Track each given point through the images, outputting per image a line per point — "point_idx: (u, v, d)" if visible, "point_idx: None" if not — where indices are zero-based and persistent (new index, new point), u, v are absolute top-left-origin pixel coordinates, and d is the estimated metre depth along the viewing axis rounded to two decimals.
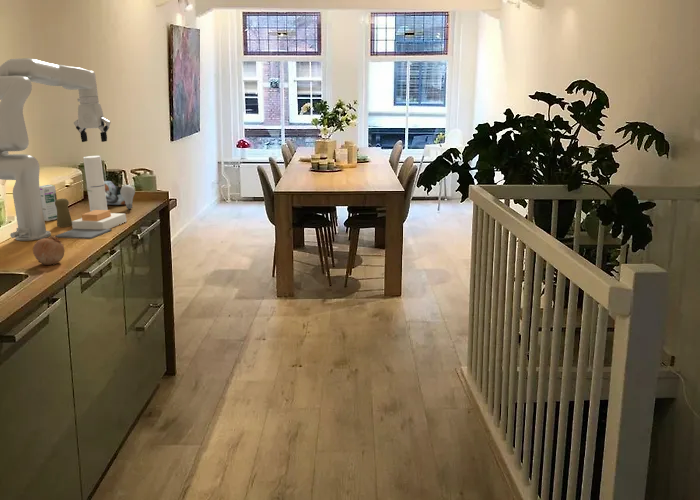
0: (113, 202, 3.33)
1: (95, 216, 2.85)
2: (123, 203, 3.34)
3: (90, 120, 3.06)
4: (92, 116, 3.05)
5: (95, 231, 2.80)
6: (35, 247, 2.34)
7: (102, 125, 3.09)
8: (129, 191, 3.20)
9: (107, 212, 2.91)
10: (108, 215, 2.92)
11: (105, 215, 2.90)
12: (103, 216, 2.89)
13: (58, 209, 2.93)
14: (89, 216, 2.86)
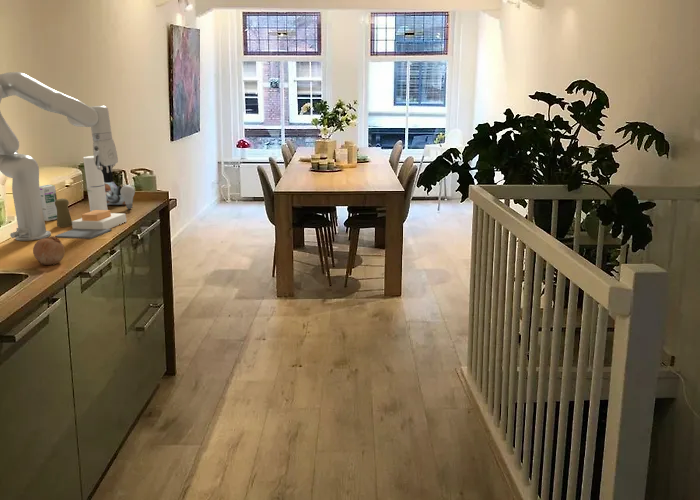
0: (115, 202, 3.33)
1: (95, 216, 2.85)
2: None
3: (112, 156, 2.94)
4: (114, 151, 2.95)
5: (95, 231, 2.80)
6: (35, 247, 2.34)
7: None
8: (129, 191, 3.20)
9: (107, 212, 2.91)
10: (108, 215, 2.92)
11: (105, 215, 2.90)
12: (103, 216, 2.89)
13: (58, 209, 2.93)
14: (89, 216, 2.86)
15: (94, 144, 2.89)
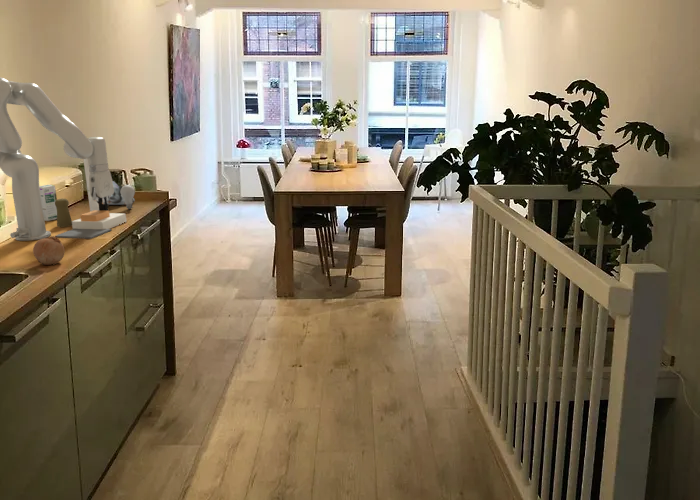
0: (117, 202, 3.32)
1: (94, 216, 2.84)
2: None
3: (109, 187, 2.93)
4: (110, 183, 2.94)
5: (95, 231, 2.80)
6: (35, 247, 2.34)
7: None
8: (129, 191, 3.20)
9: (106, 212, 2.90)
10: (107, 215, 2.91)
11: (104, 215, 2.89)
12: (102, 217, 2.88)
13: (58, 209, 2.93)
14: (88, 216, 2.85)
15: (90, 175, 2.87)
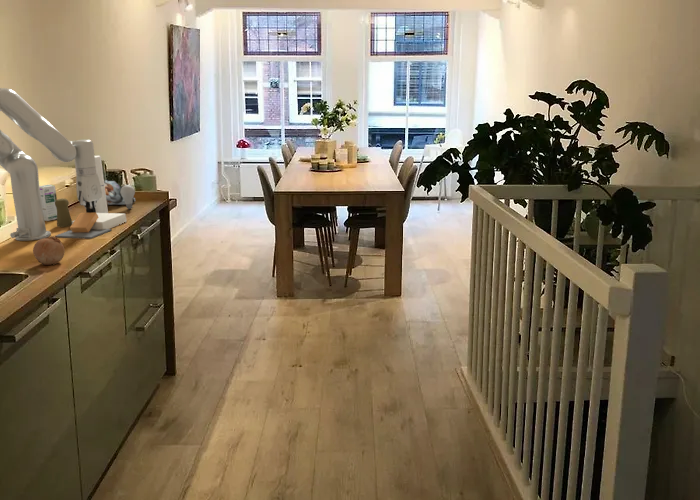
0: (117, 202, 3.32)
1: (84, 228, 2.78)
2: None
3: (96, 191, 2.86)
4: (98, 186, 2.86)
5: (95, 231, 2.80)
6: (35, 247, 2.34)
7: None
8: (129, 191, 3.20)
9: (94, 216, 2.83)
10: (96, 218, 2.84)
11: (93, 221, 2.82)
12: (92, 224, 2.81)
13: (58, 209, 2.93)
14: (78, 228, 2.79)
15: (77, 179, 2.80)
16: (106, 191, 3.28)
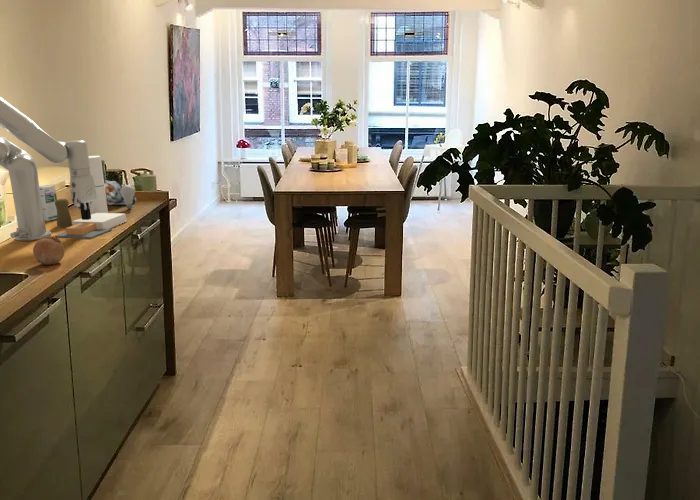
0: (118, 202, 3.32)
1: (80, 230, 2.75)
2: None
3: (91, 192, 2.82)
4: (92, 187, 2.83)
5: (95, 231, 2.80)
6: (35, 247, 2.34)
7: None
8: (129, 191, 3.20)
9: (92, 225, 2.82)
10: (93, 228, 2.82)
11: (90, 229, 2.80)
12: (88, 230, 2.79)
13: (58, 209, 2.93)
14: (74, 230, 2.76)
15: (71, 180, 2.76)
16: (107, 191, 3.28)
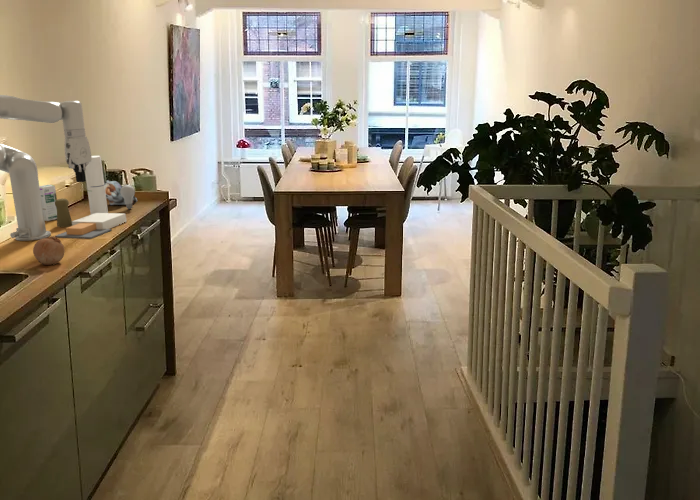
0: (120, 202, 3.32)
1: (80, 230, 2.75)
2: None
3: (86, 154, 2.79)
4: (87, 149, 2.79)
5: (95, 231, 2.80)
6: (35, 247, 2.34)
7: (81, 163, 2.81)
8: (129, 191, 3.20)
9: (92, 225, 2.82)
10: (93, 228, 2.82)
11: (90, 229, 2.80)
12: (88, 230, 2.79)
13: (58, 209, 2.93)
14: (74, 230, 2.76)
15: (66, 141, 2.73)
16: (108, 191, 3.28)
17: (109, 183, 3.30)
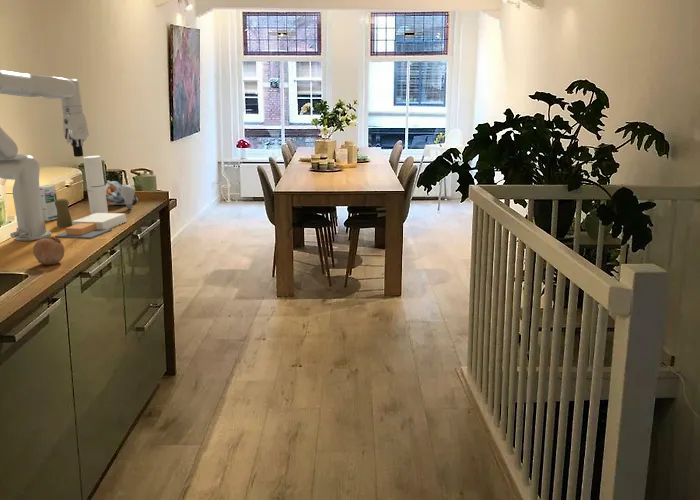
0: (120, 202, 3.32)
1: (80, 230, 2.75)
2: None
3: (83, 130, 2.93)
4: (84, 125, 2.94)
5: (95, 231, 2.80)
6: (35, 247, 2.34)
7: (78, 139, 2.96)
8: (129, 191, 3.20)
9: (92, 225, 2.82)
10: (93, 228, 2.82)
11: (90, 229, 2.80)
12: (88, 230, 2.79)
13: (58, 209, 2.93)
14: (74, 230, 2.76)
15: (64, 117, 2.87)
16: (109, 191, 3.28)
17: (110, 183, 3.30)
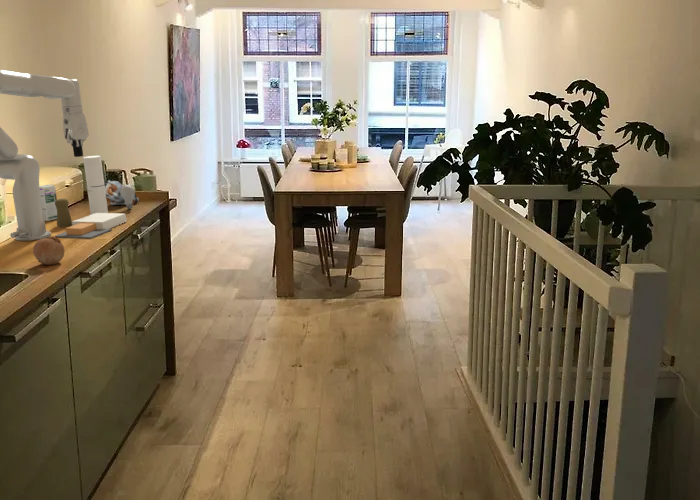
0: (121, 202, 3.32)
1: (80, 230, 2.75)
2: None
3: (83, 130, 2.93)
4: (84, 125, 2.94)
5: (95, 231, 2.80)
6: (35, 247, 2.34)
7: (78, 139, 2.96)
8: (129, 191, 3.20)
9: (92, 225, 2.82)
10: (93, 228, 2.82)
11: (90, 229, 2.80)
12: (88, 230, 2.79)
13: (58, 209, 2.93)
14: (74, 230, 2.76)
15: (64, 117, 2.87)
16: (110, 191, 3.27)
17: (111, 183, 3.30)
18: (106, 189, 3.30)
